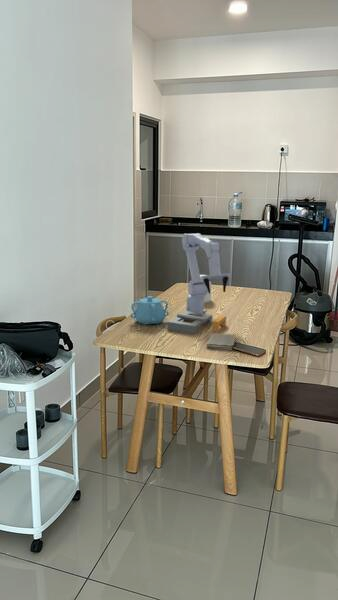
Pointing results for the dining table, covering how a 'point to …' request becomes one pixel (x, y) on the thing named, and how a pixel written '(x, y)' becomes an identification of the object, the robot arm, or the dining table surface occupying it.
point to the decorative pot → (149, 311)
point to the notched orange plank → (218, 322)
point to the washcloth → (221, 341)
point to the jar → (208, 295)
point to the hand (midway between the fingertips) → (217, 292)
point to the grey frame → (188, 327)
